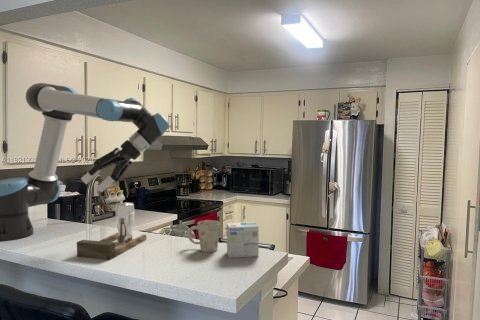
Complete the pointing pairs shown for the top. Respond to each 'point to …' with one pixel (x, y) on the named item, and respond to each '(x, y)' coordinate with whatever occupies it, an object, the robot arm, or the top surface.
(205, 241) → the mug
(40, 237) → the top surface
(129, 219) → the metal tumbler
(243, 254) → the light bulb box
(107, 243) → the brown u-shaped block
